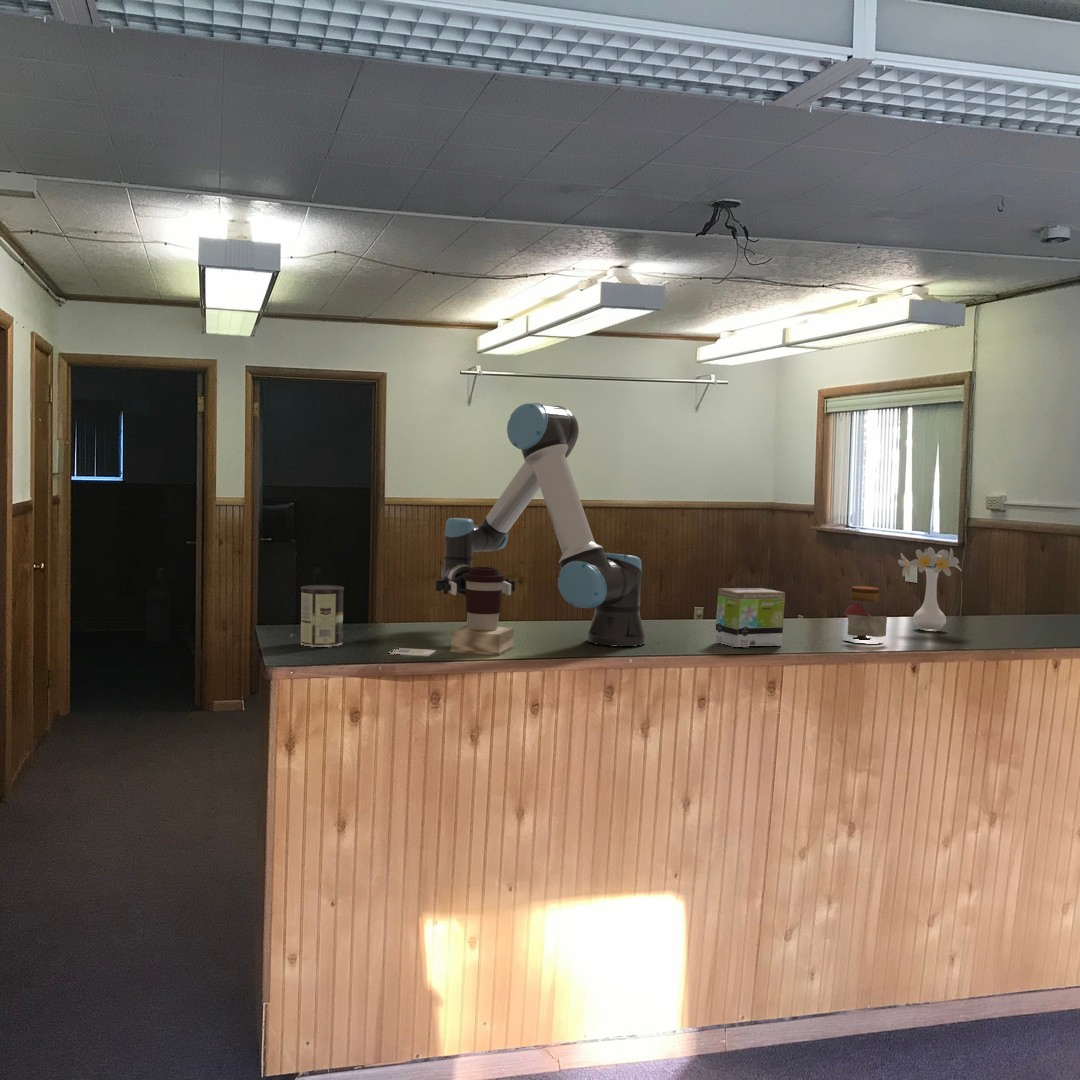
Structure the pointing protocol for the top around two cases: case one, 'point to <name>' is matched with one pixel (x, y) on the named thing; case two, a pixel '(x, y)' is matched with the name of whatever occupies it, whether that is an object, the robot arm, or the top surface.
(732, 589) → the tea box
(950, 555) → the flower vase
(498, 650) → the tan flat block
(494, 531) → the robot arm
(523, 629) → the top surface
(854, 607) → the brown red grey stack
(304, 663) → the top surface
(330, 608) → the coffee can
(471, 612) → the coffee cup
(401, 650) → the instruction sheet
